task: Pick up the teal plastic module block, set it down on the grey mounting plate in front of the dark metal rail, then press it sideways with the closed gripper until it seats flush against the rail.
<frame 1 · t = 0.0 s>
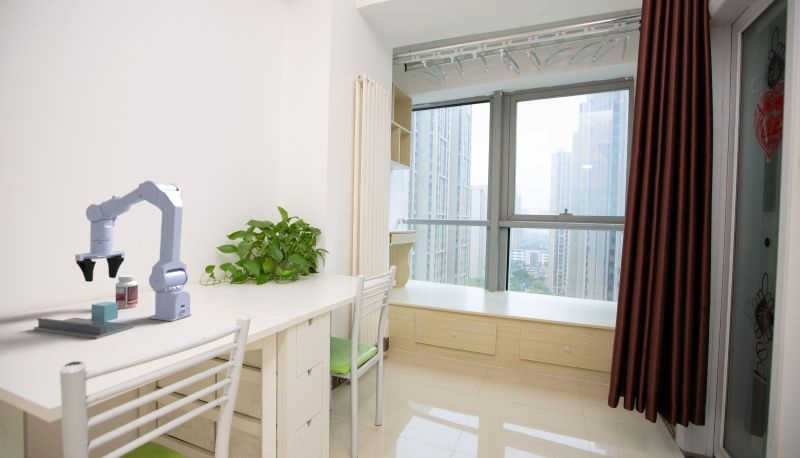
hand: (101, 279, 118), 10 cm above the table, fingers open, 7 cm apart
rail board: (84, 328, 98), on the table
pill bottle: (126, 307, 122), on the table
module: (104, 319, 107), on the table
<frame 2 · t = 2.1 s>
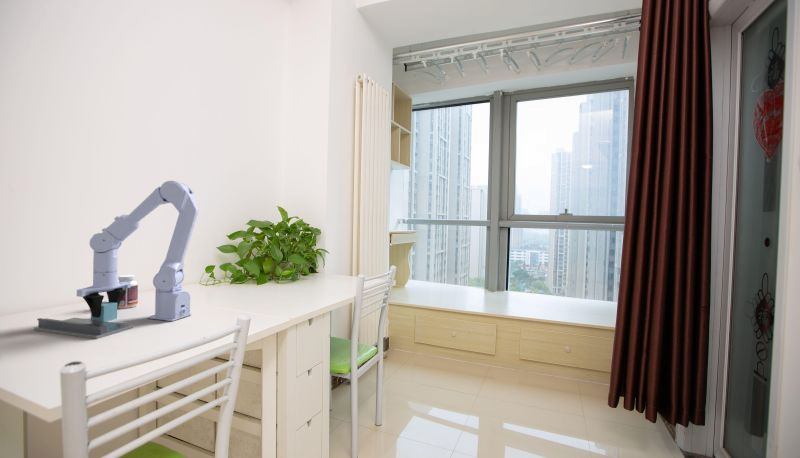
hand: (104, 314, 107), 1 cm above the table, fingers closed on module, 4 cm apart
module: (104, 319, 107), on the table, touching gripper
everything else where it was.
when the fingers open (3 cm above the table, at t = 4.9 s): module stays where it is, resting on rail board.
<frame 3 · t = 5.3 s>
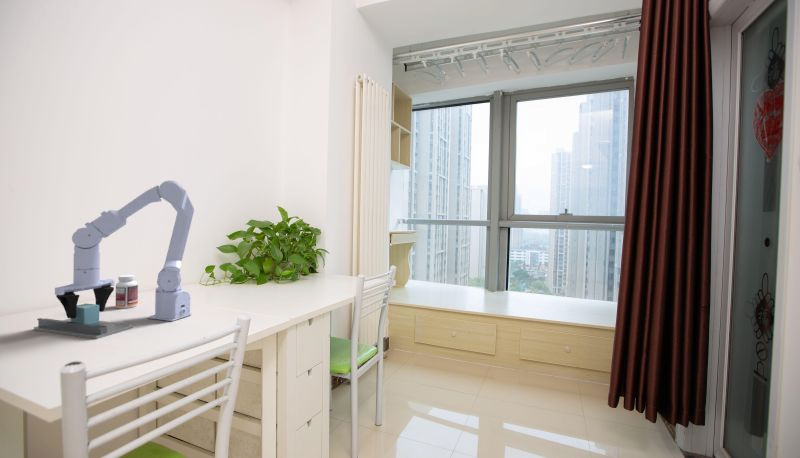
hand: (86, 314, 101), 3 cm above the table, fingers open, 7 cm apart
module: (85, 322, 101), point 1 cm above the table, touching rail board
everything else where it was.
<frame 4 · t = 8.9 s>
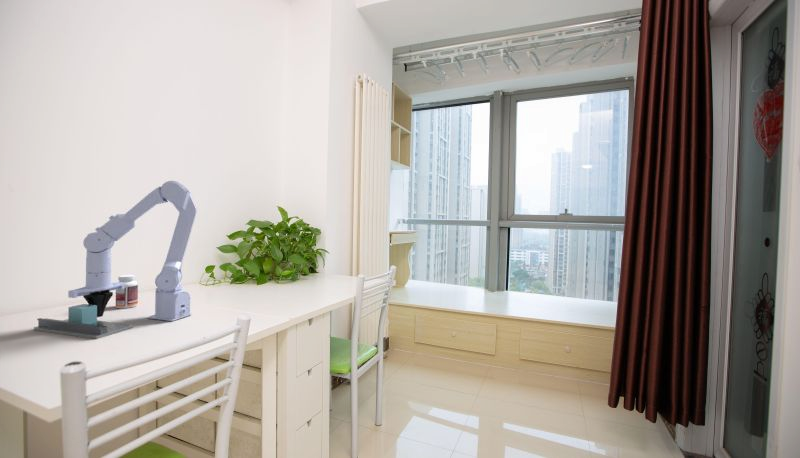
hand: (97, 316, 105), 2 cm above the table, fingers closed
module: (82, 323, 101), point 1 cm above the table, touching gripper, rail board
everything else where it was.
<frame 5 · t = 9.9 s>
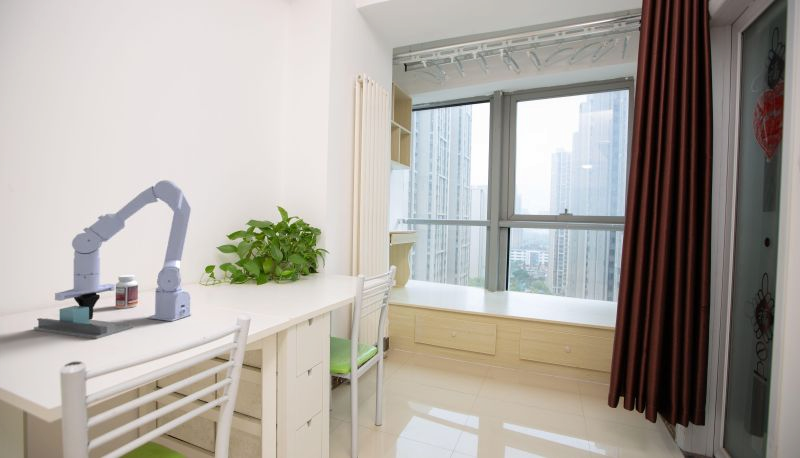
hand: (86, 319, 101), 2 cm above the table, fingers closed, pressing on module
module: (74, 325, 99), point 1 cm above the table, touching gripper, rail board
everything else where it was.
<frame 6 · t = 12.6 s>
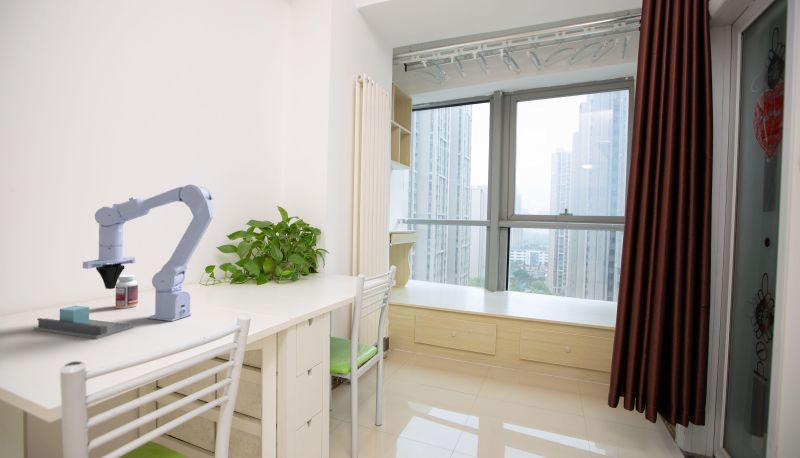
hand: (110, 288, 109), 9 cm above the table, fingers closed
module: (74, 325, 99), point 1 cm above the table, touching rail board
everything else where it was.
at the end: module inside the target area on the rail board (0.6 cm from its centre), point 0.8 cm above the rail board's base; module tilted 0°; the gripper is holding nothing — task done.
